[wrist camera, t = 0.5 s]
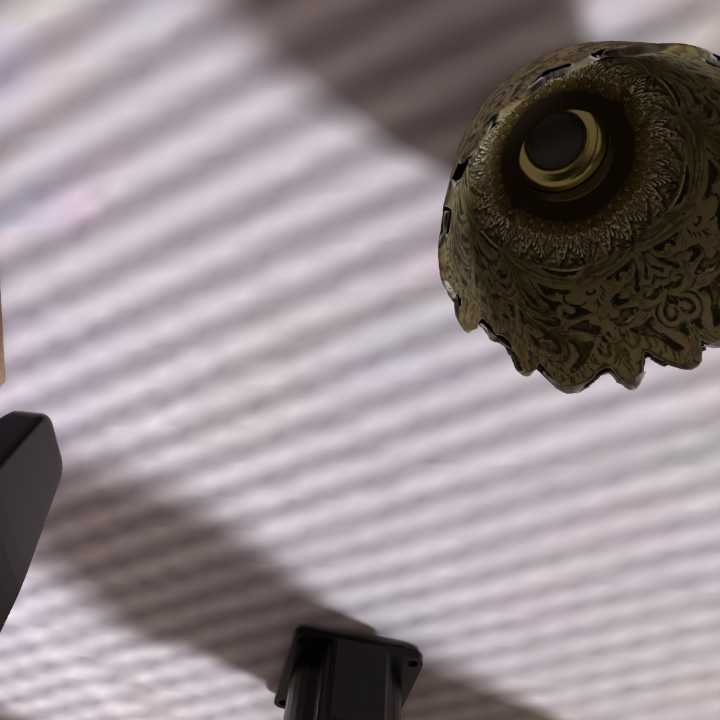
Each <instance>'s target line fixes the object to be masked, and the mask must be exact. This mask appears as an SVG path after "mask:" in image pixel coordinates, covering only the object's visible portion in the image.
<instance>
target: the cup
mask: <svg viewBox="0 0 720 720" xmlns="http://www.w3.org/2000/svg"><path fill="white" fill-rule="evenodd" d="M553 114H566V115H569V116H572V117H573V118H575V119H576V120H577V121H578V122H579V123H580V125H581V127H582V129H583V132H584V143H583V147H582V149H581V151H580V153H579V155H578V156H577V157H576V158H575V160H573V161H572V162H571V163H570V164H568V165H566V166H564V167H562V168H557V169H548V168H544V167H541V166H540V165H538V164H537V163H536V162H535V161H534V160H533V159H532V157H531V156H530V153H529V149H528V141H529V137H530V134H531V132H532V130H533V128H534V127H535V126H536V125H537V124H538V123H539V122H540V121H542V120H543V119H545V118H546V117H548V116H550V115H553ZM438 259H439V269H440V276H441V280H442V283H443V285H444V287H445V289H446V290H447V292H448V295H449V297H450V298H451V299H452V301H453V302H454V308H455V315H456V317H457V319H458V321H459V323H460V325H461V327H462V328H463V329H464V331H466V332H468V333H471V332H472V330H474V329H477V328H478V325H480V326H481V327H482V328H483V329H484V330H485V332H486V333H487V335H488V336H489V339H490V340H491V341H494V342H497V343H500V344H501V345H503V346H505V348H506V350H507V352H508V354H509V355H510V356H511V358H512V361H513V363H514V366H515V368H516V370H517V371H518V372H519V373H520V374H522V375H523V376H531V374H532V373H533V372H534V371H535V370H536V369H537V370H538V371H539V372H540V373H541V374H542V375H543V376H544V377H545V378H546V379H547V380H548V381H549V382H551V383H552V384H553V385H554V386H555V388H557V389H558V390H560V391H562V392H564V393H567V394H570V393H579V392H581V391H583V390H584V389H586V388H588V387H589V386H590V385H591V384H592V383H594V382H595V380H597V379H598V378H599V377H600V376H601V375H605V374H608V373H609V374H611V375H612V376H613V377H614V378H615V380H616V382H617V383H619V384H622V385H623V386H624V387H626V388H627V389H629V390H635V389H636V388H637V387H638V386H639V385H640V383H641V381H642V379H643V378H644V376H645V373H646V371H645V372H644V365H645V359H646V358H647V357H649V358H650V359H651V360H653V361H654V362H655V363H657V364H659V365H661V366H667V365H670V366H673V367H676V368H680V369H685V370H693V369H694V368H696V367H698V366H699V364H700V363H701V361H702V351H704V350H706V347H711V348H720V56H718V55H716V54H713V53H711V52H709V51H708V50H706V49H703V48H700V47H696V46H693V45H688V44H680V43H660V44H656V43H644V42H626V41H603V42H589V43H584V44H578V45H573V46H569V47H566V48H563V49H559V50H556V51H553V52H551V53H548V54H546V55H544V56H541V57H539V58H537V59H535V60H533V61H532V62H530V63H528V64H526V65H524V66H523V67H522V68H520V69H519V70H517V71H516V72H514V73H513V74H512V75H510V76H509V77H508V78H507V79H506V80H505V81H503V82H502V83H501V84H500V85H499V86H498V87H497V88H496V89H495V90H494V91H493V92H492V93H491V94H490V95H489V96H488V98H487V99H486V100H485V102H484V103H483V104H482V106H481V107H480V108H479V109H478V111H477V113H476V114H475V116H474V118H473V119H472V121H471V122H470V124H469V126H468V128H467V130H466V132H465V134H464V136H463V138H462V140H461V143H460V146H459V149H458V152H457V155H456V158H455V161H454V164H453V168H452V173H451V177H450V182H449V186H448V190H447V193H446V197H445V201H444V206H443V216H442V224H441V232H440V236H439V245H438ZM704 344H705V345H706V346H704Z"/></svg>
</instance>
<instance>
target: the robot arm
mask: <svg viewBox="0 0 720 720" xmlns="http://www.w3.org/2000/svg"><path fill="white" fill-rule="evenodd" d="M61 474H62V458H61V454H60V450H59V447H58V443H57V439H56V435H55V432H54V428H53V424H52V421H51V419H50V418H49V417H48V416H47V415H45V414H42V413H33V412H24V411H14V412H11V413H9V414H7V415H5V416H3V417H2V418H0V632H1V630H2V628H3V626H4V623H5V621H6V619H7V617H8V615H9V613H10V611H11V609H12V607H13V605H14V603H15V600H16V598H17V596H18V594H19V592H20V589H21V587H22V584H23V582H24V579H25V576H26V574H27V571H28V569H29V566H30V563H31V560H32V557H33V554H34V552H35V549H36V546H37V543H38V540H39V538H40V535H41V532H42V529H43V526H44V523H45V521H46V518H47V515H48V512H49V509H50V507H51V504H52V501H53V498H54V495H55V493H56V490H57V487H58V484H59V481H60V478H61ZM422 665H423V656H422V654H421V653H420V652H418V651H415V650H410V649H406V648H401V647H396V646H391V645H387V644H382V643H377V642H373V641H368V640H363V639H358V638H354V637H349V636H344V635H339V634H335V633H330V632H325V631H320V630H316V629H311V628H306V627H301V628H298V629H296V630H295V632H294V635H293V638H292V641H291V645H290V648H289V651H288V655H287V658H286V661H285V664H284V668H283V671H282V674H281V678H280V681H279V684H278V688H277V691H276V694H275V700H274V703H275V705H276V706H278V707H280V708H284V709H285V713H284V719H283V720H401V709H402V707H403V705H404V702H405V700H406V698H407V696H408V694H409V692H410V690H411V688H412V686H413V684H414V682H415V680H416V678H417V676H418V674H419V672H420V670H421V668H422Z"/></svg>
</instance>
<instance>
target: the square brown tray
mask: <svg viewBox="0 0 720 720" xmlns="http://www.w3.org/2000/svg"><path fill="white" fill-rule="evenodd" d="M4 382H5V371H4V351H3V332H2V312H1V292H0V387H1V385H2V384H3V383H4Z"/></svg>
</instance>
